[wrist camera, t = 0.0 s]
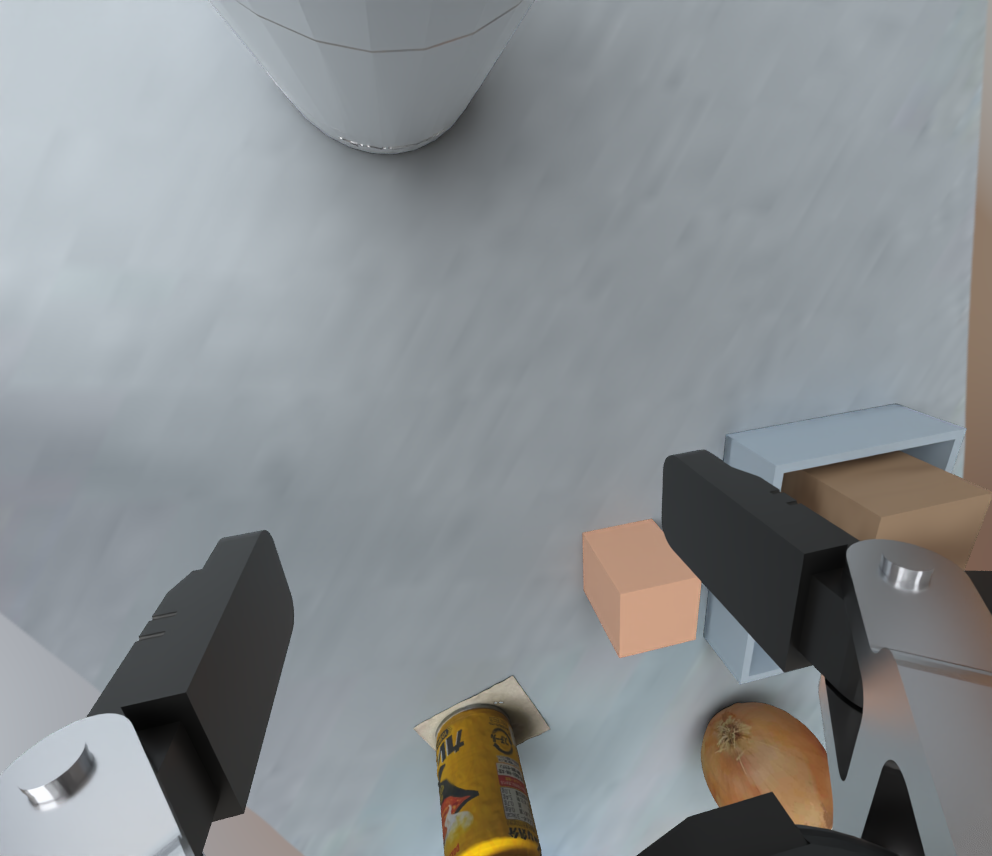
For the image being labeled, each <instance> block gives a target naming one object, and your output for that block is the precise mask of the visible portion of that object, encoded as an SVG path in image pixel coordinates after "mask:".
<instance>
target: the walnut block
mask: <svg viewBox="0 0 992 856" xmlns="http://www.w3.org/2000/svg"><path fill="white" fill-rule="evenodd" d="M782 492H784V493H786V494H787V495H789V496H791V497H792V498H794V499H795V500H797V503H798V504H800V503H801V504H803V505H805V506H806V507H808V508H809V509H811V510H812V511H814V512H816V513H817V514H819V515H820V516H822V517H823V518H825V519H827V520H828V521H830V522H831V523H833V524H834V525H836V526H838V527H839V528H841V529H842V530H844V531H845V532H847V533H849V534H850V535H852V536H853V537H855V538H856V539H858V540H859V541H863V540H869V539H886V540H895V541H900V542H905V543H909V544H913V545H917V546H920V547H923V548H926V549H928V550H931V551H933V552H935V553H937V554H939V555H942V556H944V557H945V558H947V559H949V560H950V561H952V562H954V563H955V564H956V565H958V566H959V567H960V568H961V569H962V570H963V571H964V570H965V567H966V564H967V561H968V559H969V557H970V554H971V551H972V549H973V546H974V543H975V541H976V538H977V536H978V533H979V531H980V528H981V525H982V523H983V520H984V517H985V515H986V512H987V510H988V507H989V504H990V502H991V499H992V491H989V490H987V489H985V488H983V487H980V486H978V485H976V484H973V483H971V482H969V481H967V480H965V479H962V478H960V477H958V476H956V475H953V474H951V473H949V472H947V471H944V470H942V469H940V468H938V467H935V466H933V465H931V464H929V463H926V462H924V461H922V460H920V459H917V458H915V457H913V456H911V455H908V454H906V453H904V452H902V451H899V450H898V451H893V452H888V453H883V454H878V455H873V456H868V457H863V458H858V459H852V460H847V461H842V462H837V463H832V464H827V465H822V466H817V467H812V468H807V469H802V470H797V471H792V472H787V473H784V474H783V480H782V486H781V493H782Z"/></svg>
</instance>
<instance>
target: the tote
mask: <svg viewBox="0 0 992 856" xmlns="http://www.w3.org/2000/svg"><path fill="white" fill-rule="evenodd" d="M965 432H966V428H964V427H961V426H958V425H955V424H952V423H950V422H947V421H944V420H941V419H938V418H935V417H933V416H930V415H927V414H924V413H921V412H919V411H916V410H913V409H910V408H907V407H904V406H902V405H899V404H892V405H886V406H881V407H875V408H870V409H864V410H859V411H853V412H848V413H842V414H837V415H831V416H826V417H820V418H815V419H809V420H804V421H798V422H793V423H787V424H782V425H776V426H771V427H765V428H760V429H754V430H749V431H743V432H738V433H732V434H727V435H726V441H725V450H724V459H723V461H724V462H725V463H727V464H728V465H730V466H731V467H734V468H736V469H739V470H742V471H745V472H748V473H751V474H753V475H756V476H759V477H761V478H762V479H764V480H765V481H767V482H769V483H770V484H772V485H773V486H775V487H776V488H778V489H780V492H781V486H782V480H783V474H784V473H787V472H792V471H797V470H802V469H807V468H812V467H817V466H822V465H827V464H832V463H837V462H842V461H847V460H852V459H858V458H863V457H868V456H873V455H878V454H883V453H888V452H893V451H898V450H899V451H902V452H904V453H906V454H908V455H911V456H913V457H915V458H917V459H920V460H922V461H924V462H926V463H929V464H931V465H933V466H935V467H938V468H940V469H942V470H944V471H947V472H949V473H951V474H952V471H953V468H954V465H955V462H956V459H957V456H958V453H959V450H960V447H961V444H962V441H963V438H964V435H965ZM704 638H705V639H706V640H707V642H708V643H709V644H710V646H711V647H712V648H713V649H714V651H715V652H716V653H717V655H718V656H719V657H720V659H721V660H722V661H723V663H724V664H725V665H726V667H727V668H728V669H729V671H730V672H731V673H732V675H733V676H734V677H735V679H736V680H737V681H738V683H739V684H744V683H748V682H752V681H755V680H759V679H763V678H767V677H770V676H774V675H778V674H782V673H784V672H783V671H782V670H781V669H780V668H779V666H778V665H777V664H776V663H775V662H774V661H773V660H772V659H771V658H770V657H769V655H768V654H767V653H766V652H765V651H764V650H763V649H762V648H761V647H760V646H759V644H758V643H757V642H756V641H755V640H754V639H753V638H752V637H751V636H750V635H749V633H748V632H747V631H746V630H745V629H744V628H743V627H742V626H741V625H740V624H739V622H738V621H737V620H736V619H735V618H734V617H733V616H732V615H731V614H730V613H729V611H728V610H727V609H726V608H725V607H724V606H723V605H722V604H721V603H720V601H719V600H718V599H717V598H716V597H715V596H714V595H713V594H712V593H711V592H710V590H709V592H708V601H707V610H706V619H705V627H704ZM811 666H812V665H811ZM800 669H801V668H800ZM796 670H797V669H796Z"/></svg>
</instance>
